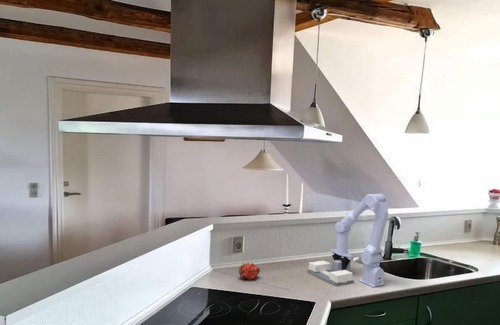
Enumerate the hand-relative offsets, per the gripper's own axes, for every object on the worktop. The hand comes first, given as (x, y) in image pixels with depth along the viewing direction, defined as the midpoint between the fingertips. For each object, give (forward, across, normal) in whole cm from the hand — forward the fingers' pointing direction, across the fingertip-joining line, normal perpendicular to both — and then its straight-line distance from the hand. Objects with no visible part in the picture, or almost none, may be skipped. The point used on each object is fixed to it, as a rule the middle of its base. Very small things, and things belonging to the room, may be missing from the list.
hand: (340, 269), depth 197 cm
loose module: (+1, 0, 0) cm, 1 cm away
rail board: (+1, -4, +11) cm, 12 cm away
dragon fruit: (+2, +10, +50) cm, 51 cm away
